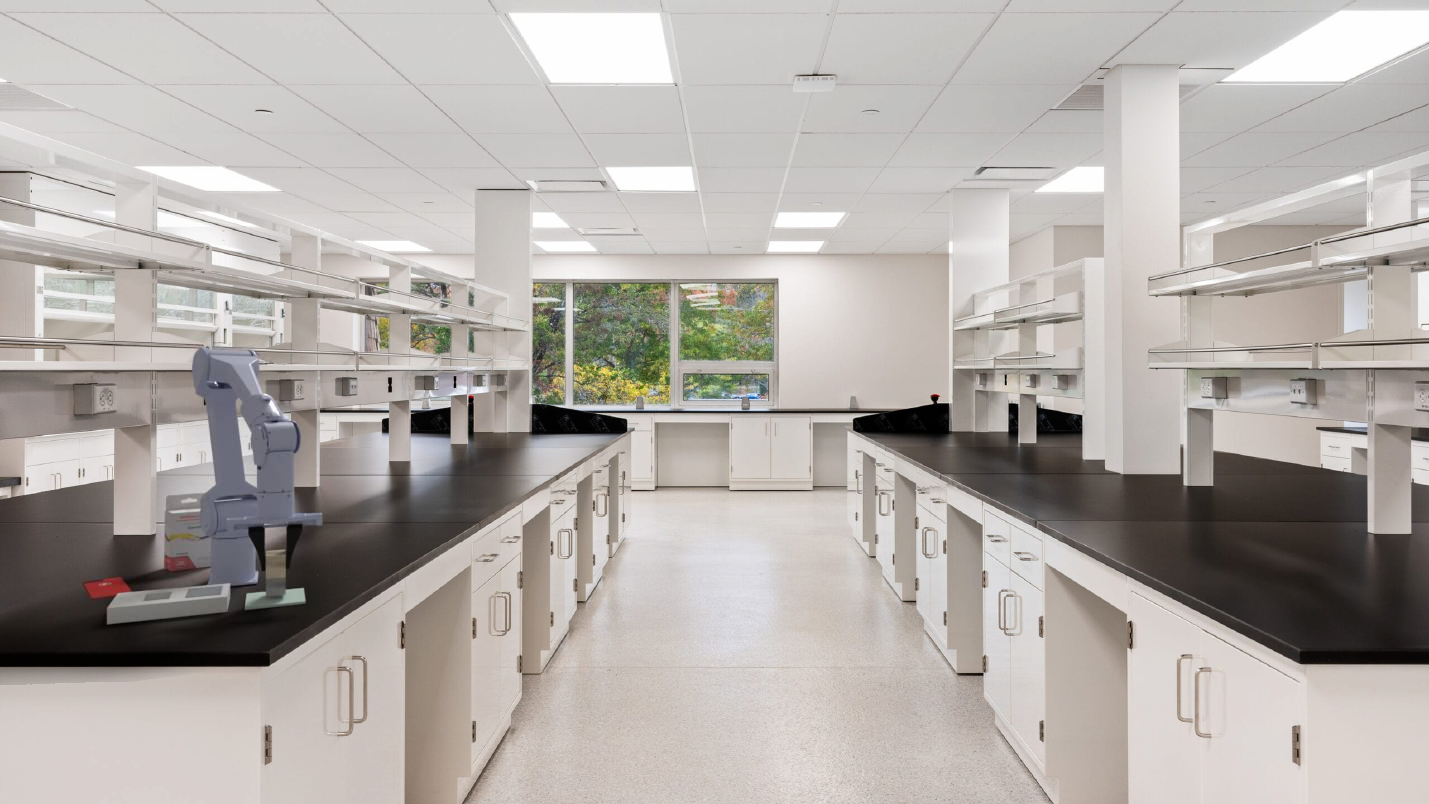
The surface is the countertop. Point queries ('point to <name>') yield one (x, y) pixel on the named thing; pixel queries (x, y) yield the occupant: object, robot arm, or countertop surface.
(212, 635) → the countertop surface
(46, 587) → the countertop surface
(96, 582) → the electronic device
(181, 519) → the ink cartridge box
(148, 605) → the white slotted tray
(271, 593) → the plug
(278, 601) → the mat
